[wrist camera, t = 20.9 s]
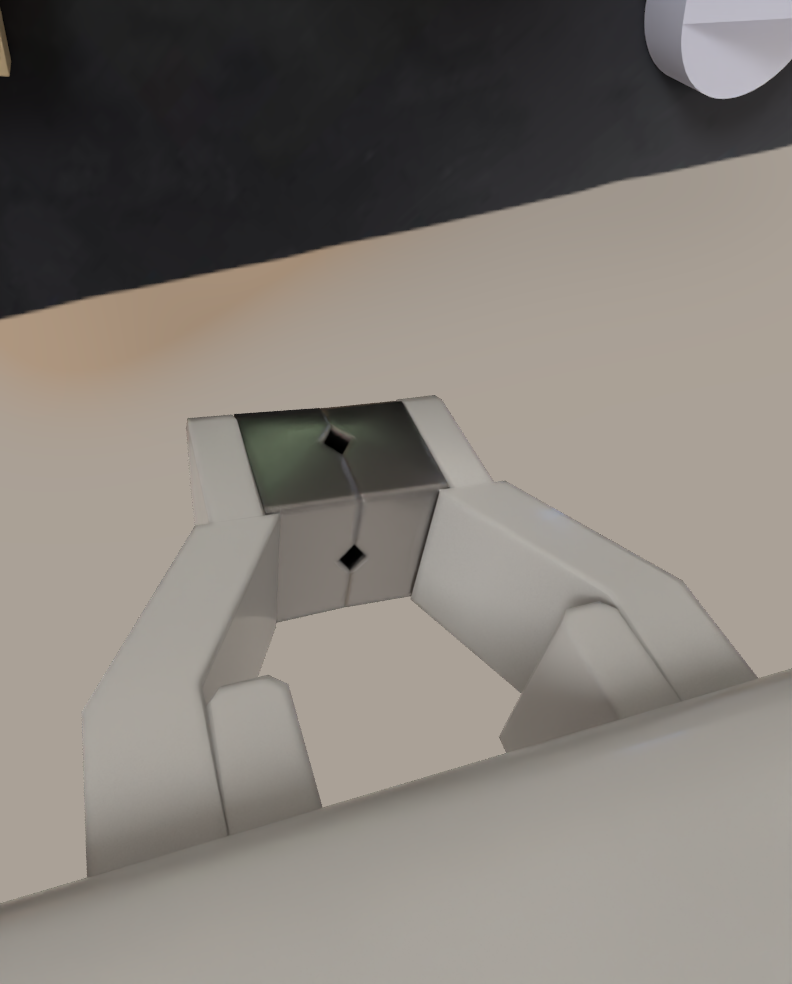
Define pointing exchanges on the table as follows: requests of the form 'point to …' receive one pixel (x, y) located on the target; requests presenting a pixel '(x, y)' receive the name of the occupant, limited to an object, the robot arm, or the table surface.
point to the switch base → (4, 51)
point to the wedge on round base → (719, 42)
